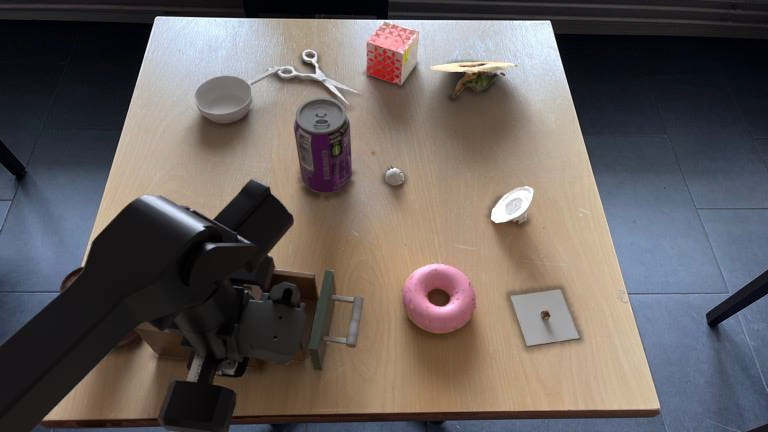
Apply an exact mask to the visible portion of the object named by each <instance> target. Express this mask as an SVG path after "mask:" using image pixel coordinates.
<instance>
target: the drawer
mask: <svg viewBox="0 0 768 432" xmlns="http://www.w3.org/2000/svg"><path fill="white" fill-rule="evenodd" d="M283 282H286V283H290V284H293V285H296V286H297V288H298V290H299V292H300V294H301V295H300V299H299V300H300V302H301V303H304V304H305V305H306V306H305V311H304V314H305V317H306V319H305V324H304V329H303V333H302V337H301V342H300V346H299V350H298V352H297V353H296V354H295V355H294V357H293V358H292V359H291V361H290V362H297V363H306V359H307V354H308V353H309V357H310V361H311V365H312V366H311V367H312V370H313V371H318V372H319V371H320V372H322V371H323V367H324V362H325V357H326V352H327V347H328V343H331V344H340V345H345V346H346V347H348V348H351V349H355V348H357V345H358V339H359V333H360V327H361V321H362V315H363V308H364V302H365V298H364V297H363V296H361V295H355V296H353V297H351V296H350V297H349V296H342V295H337V288H336V279H335V271H334V270H330V269H325V270H324V273H323V278H322V283H321V287H320V291H318V285H317V279H316V273H313V272H305V271H304V272H303V271H295V270H287V269H278V268H276V269H274V271H273V275H272V278H271V282H270V286H269V288H268V289H267V290H266V291H264V292H263V293H270V291H271V289H272V287H273V286H275V285H278V284H281V283H283ZM336 302H339V303H346V304H347V303H348V304H352V307H351V313H350V318H349V323H348V324H349V325H348V330H347V335H346V338H345V337H344V338H343V337H336V336H330V331H331V326H332V321H333V316H334V312H335V307H336Z"/></svg>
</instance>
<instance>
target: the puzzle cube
mask: <svg viewBox="0 0 768 432" xmlns="http://www.w3.org/2000/svg"><path fill="white" fill-rule="evenodd" d="M419 39H420V31H419V30H416V29H412V28H409V27H406V26H402V25H399V24H396V23H393V22H390V21H387V20H383V21H382V22H381V23H380V25H379V26H378V27H377V28H376V29H375V31H374V32H373V33H372V34H371V35H370V37H369V38H368V39H367V40H366V75H368V76H371V77H374V78H377V79H380V80H383V81H386V82H389V83H391V84H395V85H398V86H400V87H401V86H402V85H403V83H404V82H405V81H406V79H407V78H408V76H409V75H410V73H411V72H412V70H413V69H414V68H415V66H416V65H417V61H418V51H419Z"/></svg>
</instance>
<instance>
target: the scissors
mask: <svg viewBox="0 0 768 432" xmlns="http://www.w3.org/2000/svg"><path fill="white" fill-rule="evenodd" d="M308 54H311V55H313V56H314V57H313V58H309V57H307V56H306V55H308ZM301 56H302V60H303V61H304V62H305V63H309V64H312V65H313V66H314V67H315V73H300V72H298V71H296V69H295V67H293V66H289V65H287V66H285V65H284V66H281V67H280V68H281V70H280V71H278V72H276V73H275V74H278V76H279V77H280V78H281V79H287V80H288V79H293V78H300V79H306V78H308V79H312V80H314V81H317V82H321V83H322V84H323V85H325V87H327V88H328V89H329V90H330V91H331V92H332V93H333V94H335V95H336V96H337V97H338V98H340V99H341V100H342V101H343V102H344V103H346V104H347V105H350V103H349V102H348V101H347V100H346V99H345V97H344V96H343V95H342V94H341V93H340V92H339V91H338V89H336V87H338V88H340V89H344V90H347V91H351V92H354V93H357V94H359V95H362V93H361V92H359V91H357V90H356V89H353V88H351V87H349V86H347V85H345V84H343V83H340V82H338V81H336V80H333V79H331V78H329V77H327V76H326V75H325V74H324V73H323V72H322V71H321V69H320V68H319V64H318V63H317V61H318V53H317V52H316V51H315V50H313V49H305V50H304V51H303V52H302V54H301ZM272 68H273V67H268V69H267V71H268V70H270V69H272ZM284 71H289V72H291V73H290V74H284V73H283V72H284Z"/></svg>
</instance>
